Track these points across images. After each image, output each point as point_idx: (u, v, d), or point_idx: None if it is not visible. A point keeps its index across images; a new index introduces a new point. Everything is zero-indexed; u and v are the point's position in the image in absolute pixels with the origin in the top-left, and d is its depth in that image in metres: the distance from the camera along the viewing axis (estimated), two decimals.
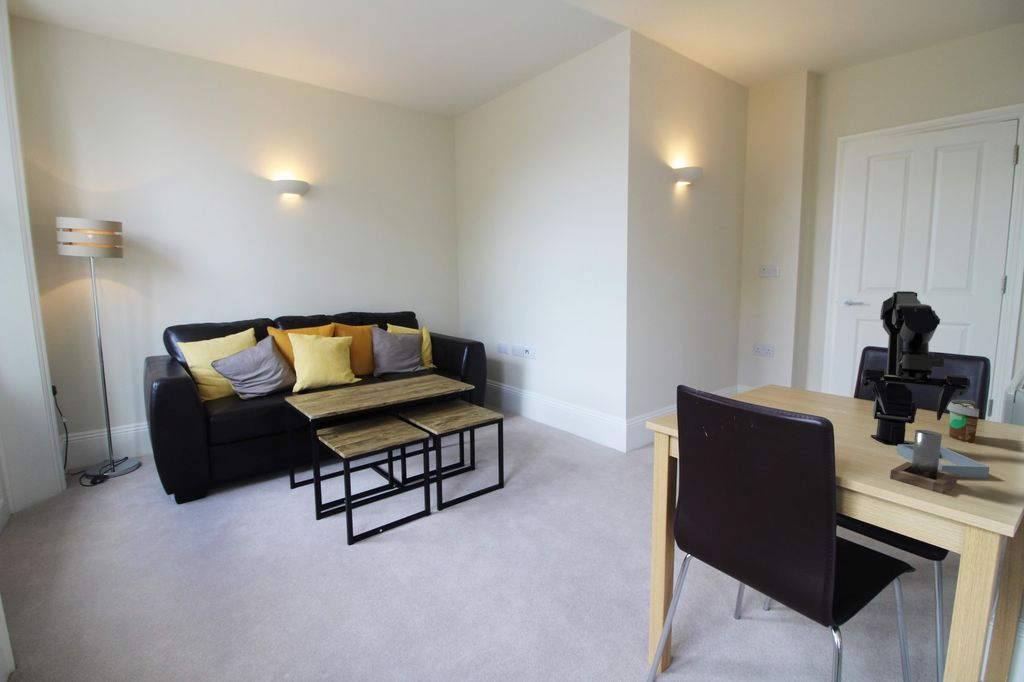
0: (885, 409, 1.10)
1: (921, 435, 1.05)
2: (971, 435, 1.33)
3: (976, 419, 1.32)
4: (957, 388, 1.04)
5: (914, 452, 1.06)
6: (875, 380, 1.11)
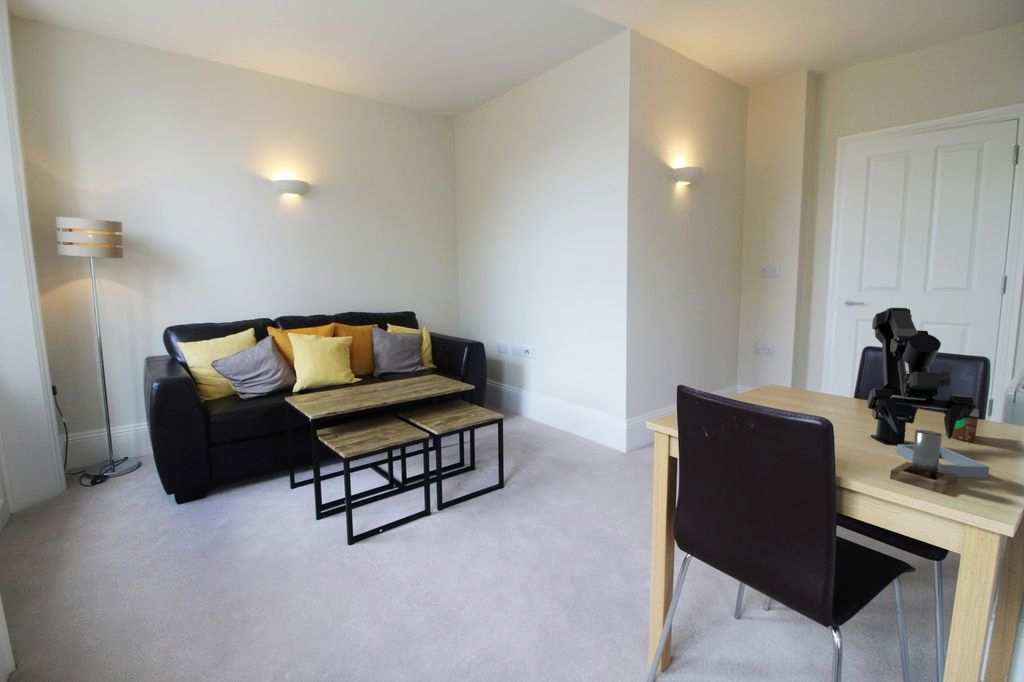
0: (897, 427, 1.10)
1: (921, 435, 1.04)
2: (971, 435, 1.33)
3: (976, 419, 1.32)
4: (964, 407, 1.07)
5: (914, 452, 1.06)
6: (885, 399, 1.13)
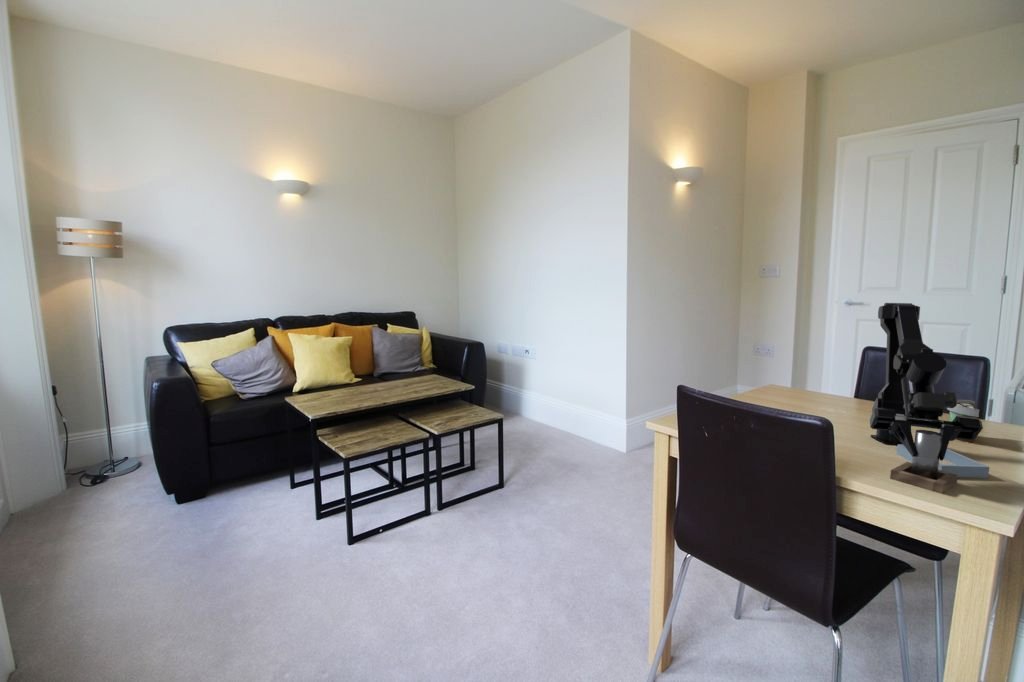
0: (913, 451, 1.06)
1: (921, 435, 1.04)
2: None
3: None
4: (957, 427, 1.04)
5: None
6: (900, 421, 1.08)
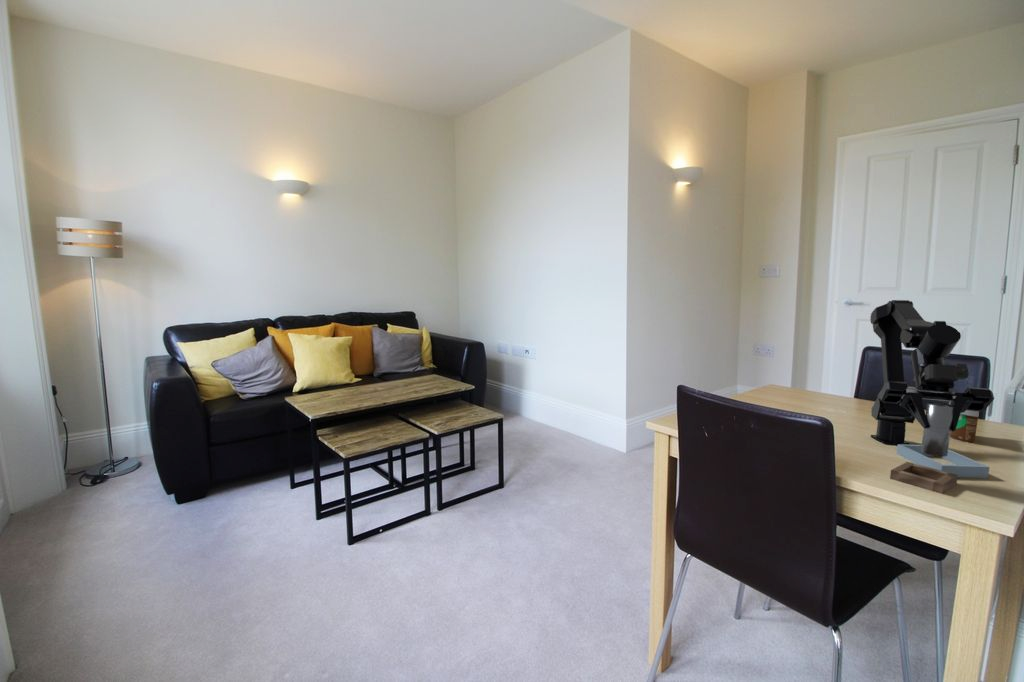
0: (925, 423, 1.06)
1: (933, 407, 1.05)
2: (971, 435, 1.33)
3: (976, 419, 1.32)
4: (968, 398, 1.04)
5: None
6: (912, 393, 1.08)
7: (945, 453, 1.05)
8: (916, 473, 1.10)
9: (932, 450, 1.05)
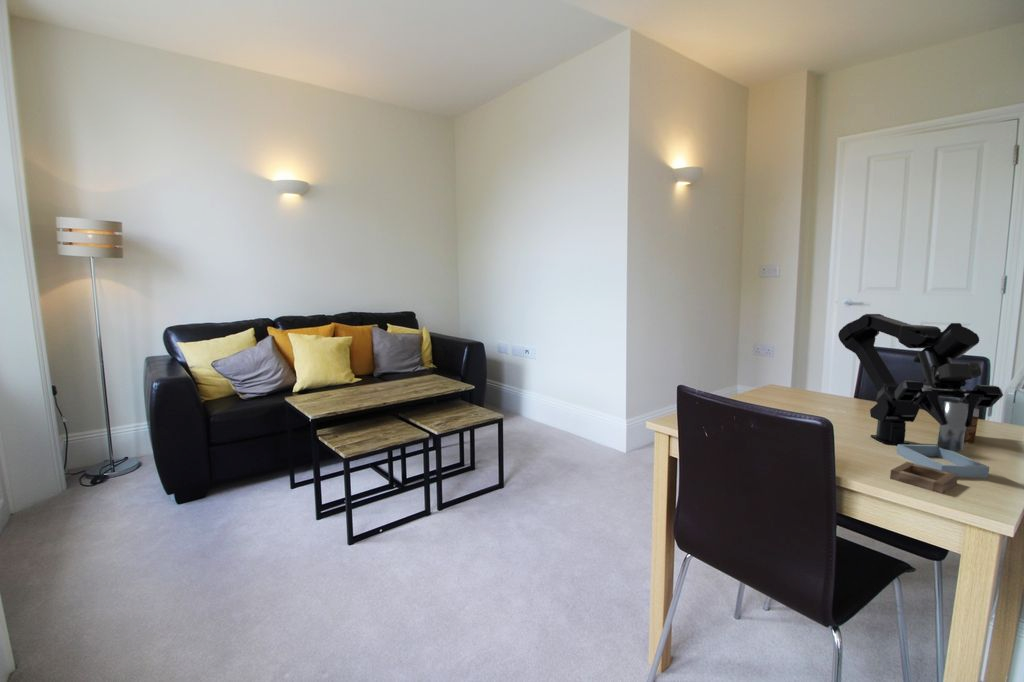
0: (943, 420, 1.11)
1: (951, 404, 1.10)
2: (971, 435, 1.33)
3: (976, 419, 1.32)
4: (980, 395, 1.10)
5: None
6: (928, 392, 1.13)
7: (961, 448, 1.10)
8: (916, 473, 1.10)
9: (949, 445, 1.10)
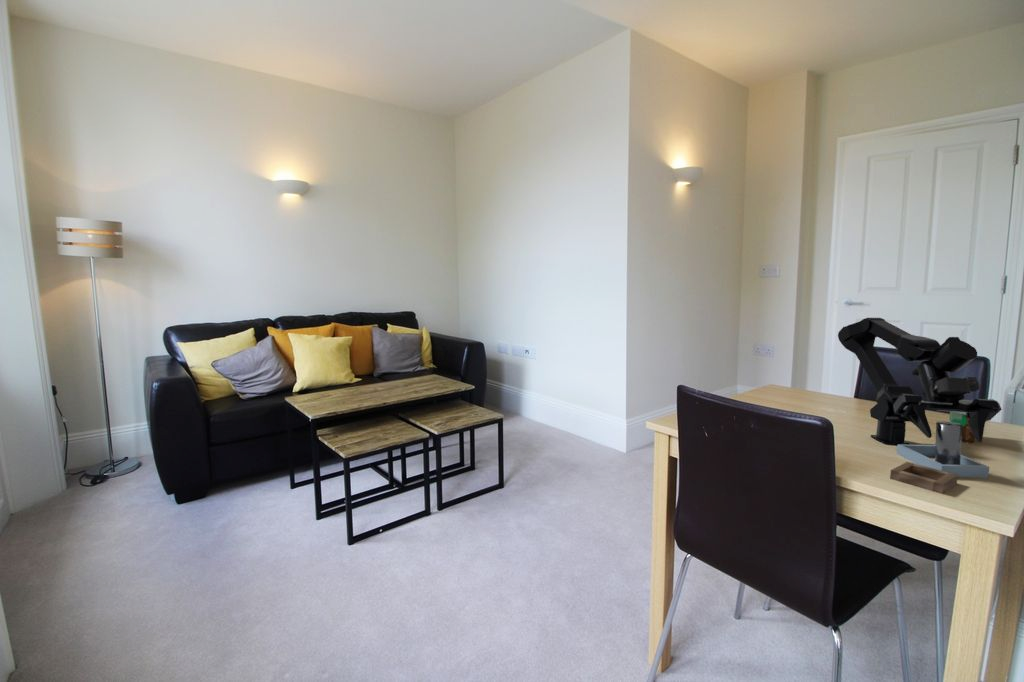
0: (929, 433, 1.12)
1: (944, 426, 1.11)
2: (971, 435, 1.33)
3: None
4: (991, 410, 1.10)
5: (937, 443, 1.13)
6: (915, 405, 1.14)
7: None
8: (916, 473, 1.10)
9: None
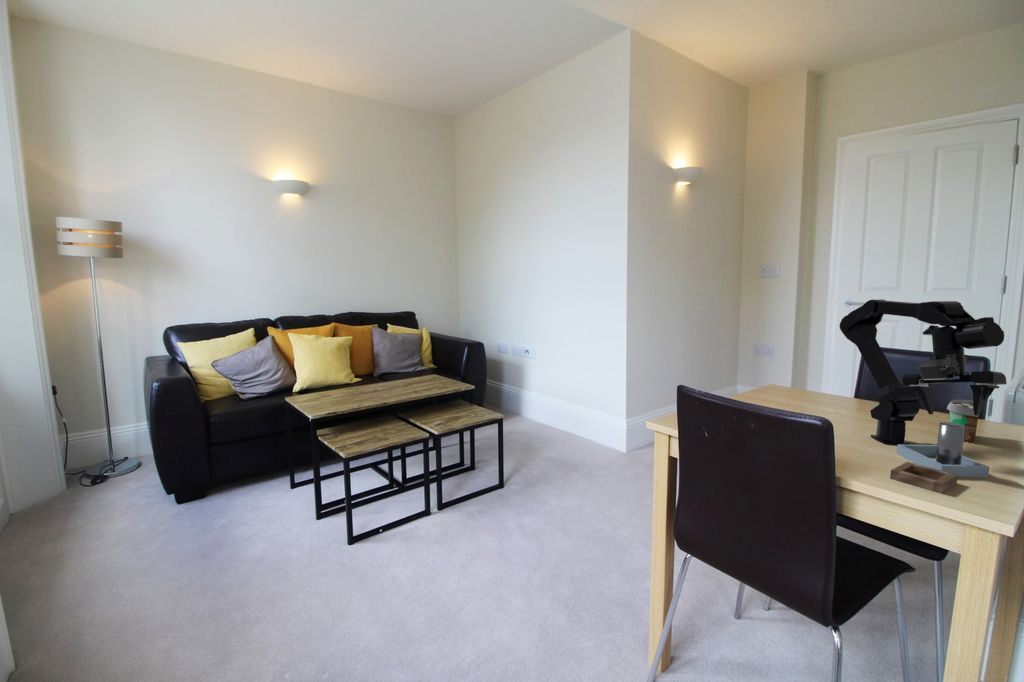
0: (928, 411, 1.21)
1: (947, 427, 1.10)
2: (971, 435, 1.33)
3: (976, 419, 1.32)
4: (981, 386, 1.10)
5: (939, 444, 1.12)
6: (911, 387, 1.23)
7: None
8: (916, 473, 1.10)
9: None
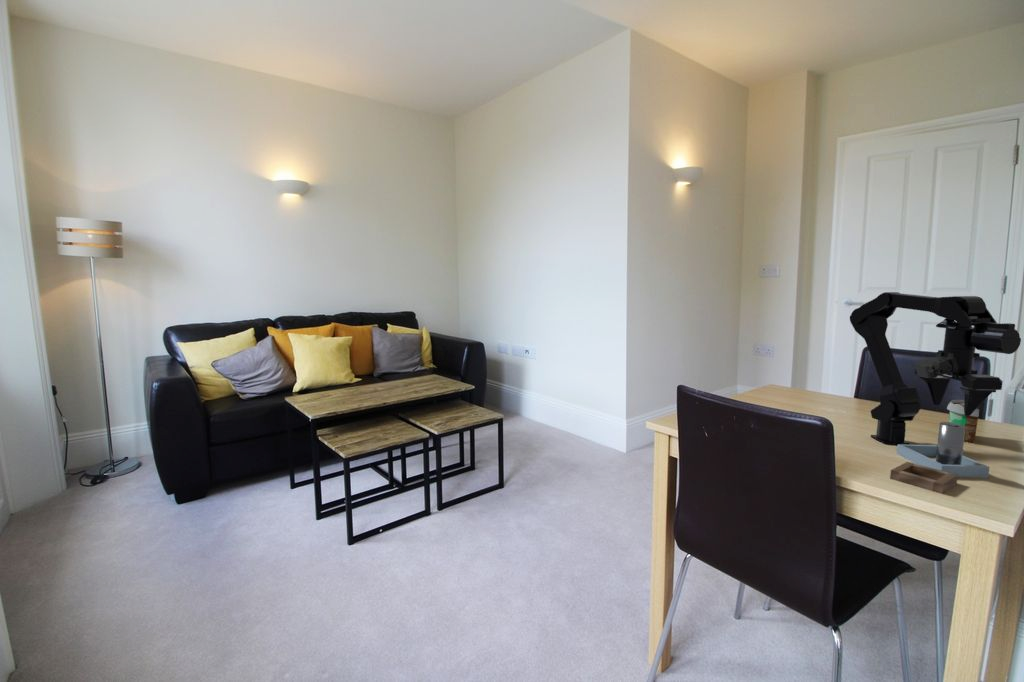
0: (933, 402, 1.24)
1: (948, 428, 1.10)
2: (971, 435, 1.33)
3: (976, 419, 1.32)
4: (967, 390, 1.12)
5: (940, 444, 1.12)
6: (920, 377, 1.26)
7: None
8: (916, 473, 1.10)
9: None
